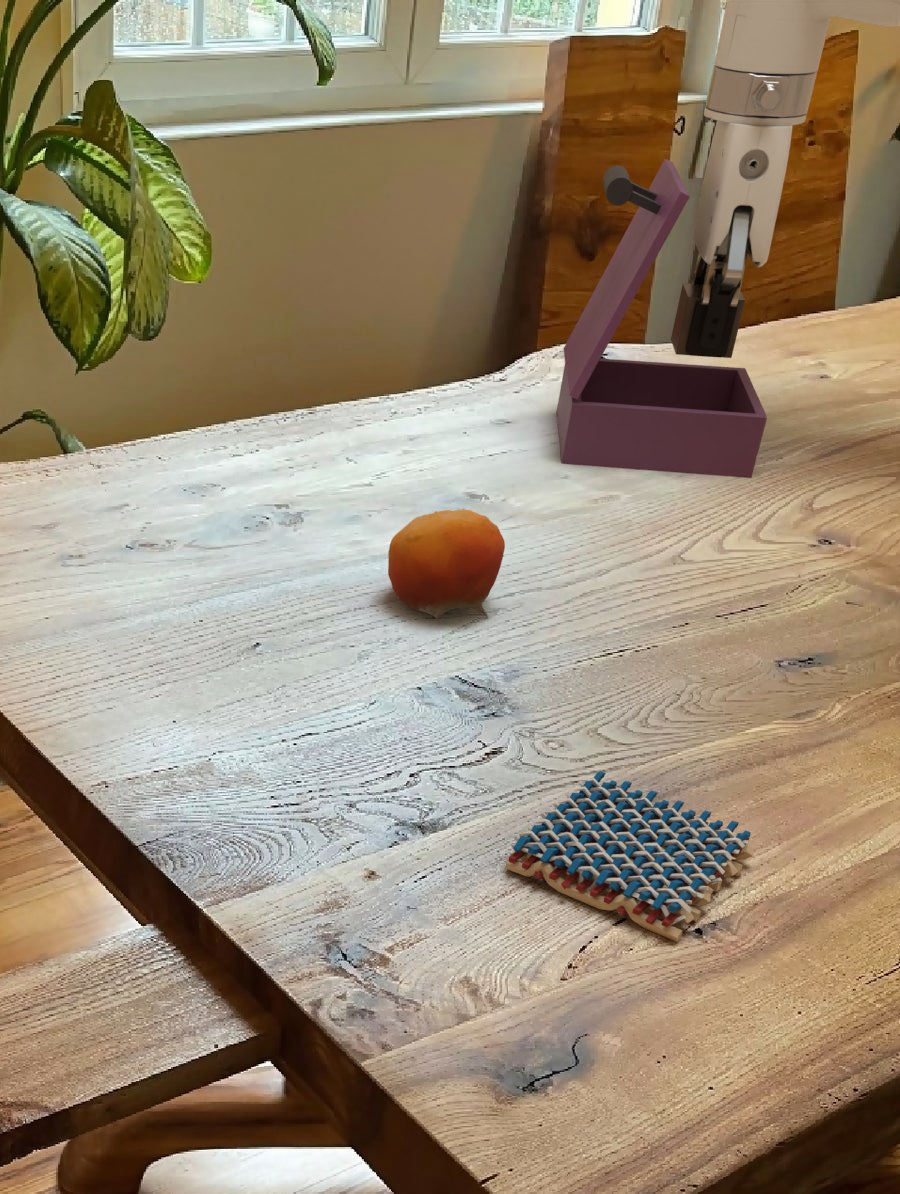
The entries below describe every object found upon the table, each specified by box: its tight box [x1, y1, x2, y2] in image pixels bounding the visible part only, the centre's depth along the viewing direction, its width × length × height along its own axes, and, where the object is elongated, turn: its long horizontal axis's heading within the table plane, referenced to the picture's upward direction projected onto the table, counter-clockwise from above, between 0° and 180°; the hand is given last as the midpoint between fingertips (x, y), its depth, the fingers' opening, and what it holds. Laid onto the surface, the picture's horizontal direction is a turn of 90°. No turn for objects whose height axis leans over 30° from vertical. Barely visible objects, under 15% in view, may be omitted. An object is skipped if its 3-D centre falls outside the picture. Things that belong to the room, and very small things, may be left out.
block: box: [670, 282, 746, 359], centre depth 122 cm, size 4×4×4 cm
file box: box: [555, 358, 768, 479], centre depth 128 cm, size 16×14×7 cm
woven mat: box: [504, 770, 755, 943], centre depth 80 cm, size 10×11×2 cm
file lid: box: [563, 158, 691, 399], centre depth 121 cm, size 16×14×5 cm
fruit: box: [387, 509, 506, 622], centre depth 104 cm, size 8×8×8 cm
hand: (702, 344), depth 123 cm, fingers closed on block, 4 cm apart
